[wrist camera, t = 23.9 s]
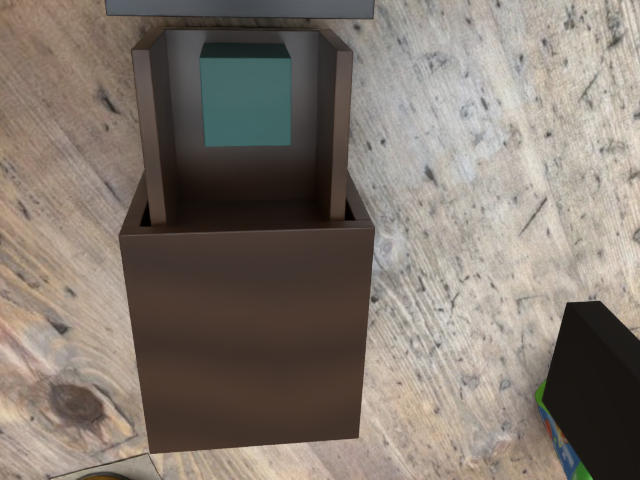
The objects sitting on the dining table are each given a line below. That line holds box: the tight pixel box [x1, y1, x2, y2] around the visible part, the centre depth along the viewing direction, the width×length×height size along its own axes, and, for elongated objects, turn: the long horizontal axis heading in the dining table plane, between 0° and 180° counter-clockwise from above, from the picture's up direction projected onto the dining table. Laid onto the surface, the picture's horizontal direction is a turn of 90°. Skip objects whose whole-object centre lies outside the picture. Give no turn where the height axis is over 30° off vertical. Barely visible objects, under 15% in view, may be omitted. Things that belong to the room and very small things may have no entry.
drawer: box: [105, 0, 375, 227], centre depth 30 cm, size 21×12×8 cm, turn 178°
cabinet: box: [119, 169, 375, 454], centre depth 37 cm, size 15×13×10 cm
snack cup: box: [535, 379, 593, 480], centre depth 47 cm, size 16×10×10 cm
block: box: [199, 43, 292, 147], centre depth 32 cm, size 4×4×4 cm
